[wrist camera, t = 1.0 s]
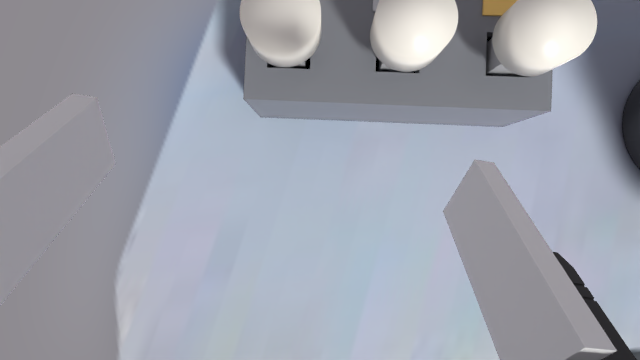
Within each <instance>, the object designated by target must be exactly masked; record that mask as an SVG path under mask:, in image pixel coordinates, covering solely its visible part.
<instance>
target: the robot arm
mask: <svg viewBox="0 0 640 360" xmlns="http://www.w3.org/2000/svg"><path fill="white" fill-rule="evenodd" d="M623 134H624V139H625V143H626V146H627V149H628V151H629V153H630V155H631V157H632V159H633V161H634V162H635V163H636V165H637V166H638V167H639V168H640V81H639V82H638V84H637V85H636V86H635V87H634V89H633V90H632V92H631V94H630V96H629V98H628V100H627V103H626V106H625V110H624V115H623ZM115 165H116V162H115V158H114V155H113V151H112V148H111V144H110V141H109V137H108V134H107V130H106V127H105V123H104V119H103V116H102V113H101V109H100V105H99V102H98V98H96V97H91V96H85V95H78V94H71V95H70V96H68V97H67V98H65V99H64V100H63V101H61V102H60V103H59V104H58V105H56V106H55V107H53V108H52V109H51V110H49V111H48V112H47V113H45V114H44V115H43V116H41V117H40V118H38V119H37V120H36V121H34V122H33V123H32V124H30V125H29V126H27V127H26V128H25V129H23V130H22V131H21V132H20V133H18V134H17V135H15V136H14V137H13V138H11V139H10V140H9V141H7V142H6V143H4V144H3V145H2V146H0V306H1V304H2V303H3V302H4V301H5V299H6V298H7V297H8V296H9V294H10V293H11V292H12V291H13V289H14V288H15V287H16V286H17V285H18V283H19V282H20V281H21V280H22V279H23V277H24V276H25V275H26V274H27V272H28V271H29V270H30V269H31V268H32V266H33V265H34V264H35V263H36V261H37V260H38V259H39V258H40V257H41V255H42V254H43V253H44V252H45V250H46V249H47V248H48V247H49V246H50V244H51V243H52V242H53V241H54V239H55V238H56V237H57V235H59V233H60V232H61V231H62V230H63V228H64V227H65V226H66V225H67V223H68V222H69V221H70V220H71V218H72V217H73V216H74V215H75V213H76V212H77V211H78V210H79V209H80V208H81V206H82V205H83V204H84V203H85V201H86V200H87V199H88V198H89V197H90V195H91V194H92V193H93V192H94V190H95V189H96V188H97V187H98V185H99V184H100V183H101V182H102V181H103V179H104V178H105V177H106V176H107V174H108V173H109V172H110V171H111V170H112V168H113V167H114V166H115ZM443 212H444V215H445V218H446V220H447V223H448V225H449V228H450V231H451V233H452V236H453V239H454V241H455V244H456V246H457V249H458V252H459V254H460V257H461V259H462V262H463V265H464V267H465V270H466V272H467V275H468V278H469V280H470V283H471V286H472V288H473V291H474V293H475V296H476V299H477V301H478V304H479V306H480V309H481V312H482V314H483V317H484V319H485V322H486V325H487V327H488V330H489V333H490V335H491V338H492V340H493V343H494V346H495V348H496V351H497V353H498V356H499V359H500V360H637V359H636V358H635V357H634V355H633V354H632V353H631V351H630V350H629V348H628V347H627V345H626V344H625V342H624V341H623V340H622V338H621V337H620V335H619V334H618V332H617V331H616V329H615V328H614V326H613V325H612V323H611V322H610V321H609V319H608V318H607V316H606V315H605V313H604V312H603V310H602V309H601V307H600V306H599V304H598V303H597V302H596V301H594V300H593V299H594V297H593V296H592V294H591V293H590V291H589V290H588V288H587V287H584V285H585V284H584V283H583V281H582V280H581V278H580V277H579V275H578V274H577V272H576V271H575V269H574V268H573V267H572V266H571V265H570V264H569V263H568V262H567V261H566V260H565V259H564V258H563V257H562V256H561V255H560V254H558V253H556V252H552V251H551V249H550V248H549V246H548V244H547V243H546V241H545V240H544V238H543V237H542V235H541V234H540V232H539V231H538V229H537V228H536V226H535V225H534V223H533V222H532V220H531V218H530V217H529V215H528V214H527V212H526V211H525V209H524V208H523V206H522V205H521V203H520V202H519V200H518V199H517V197H516V196H515V194H514V193H513V191H512V189H511V188H510V186H509V185H508V183H507V182H506V180H505V179H504V177H503V176H502V174H501V173H500V171H499V170H498V168H497V167H496V165H495V163H492V162H486V161H480V160H474V162H473V163H472V165H471V166H470V168H469V170H468V171H467V173H466V175H465V176H464V178H463V180H462V181H461V183H460V184H459V186H458V188H457V189H456V191H455V193H454V194H453V196H452V198H451V199H450V201H449V202H448V204H447V206H446V207H445V209H444V211H443Z"/></svg>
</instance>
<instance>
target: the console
mask: <svg viewBox="0 0 640 360" xmlns="http://www.w3.org/2000/svg"><path fill="white" fill-rule="evenodd" d="M319 1H320V5H321V39H320V43H319V45H318V47H317V49H316V51H315V52H314V54H313V55H312V56H311V58H310V69H293V68H271V67H272V65H271V64H269V63H267V62H265V61H264V60H263V59H261V58H260V57H259V56H258V55H257V53H256V52H255V50H254V49H253V47H252V45H251V43H250V41H249V39H248V37H247V36H246V55H245V76H244V98H243V99H244V100H245V101H246V102H247V103H248V104H249V105H250V107H251V108H252V109H253V110H254V111H255V112H256V113H257V114H258V115H259V116H260V117H269V118H294V119H319V120H344V121H368V122H393V123H418V124H443V125H468V126H493V127H504V126H507V125H510V124H513V123H516V122H519V121H522V120H525V119H528V118H532V117H535V116H538V115H541V114H544V113H547V112H550V111H551V98H552V70H550V71H548V72H546V73H544V74H541V75H538V76H529V77H528V76H521V75H518V76H516V77H506V76H486V50H487V37H493V31H494V28H495V25H496V23H497V21H498V20H499V18H500V17H501V16H502V15H503V14H504V13H505V12H506V11H507V10H508V9H509V8H510V7H511V6H512V5H513V4H514V3H515V2H516V1H517V0H455V2H456V5H457V9H458V24H457V28H456V31H455V34H454V36H453V37H452V39H451V40H450V42H449V43H448V44H447V45H446V46H445V48H444V49H443V50H442V51H441V52H440V53H439V54H438V56H437V57H436V58H435V59H434V60H433V61H432V62H431V63H430V64H429V65H427V66H426V67H424V68H422V69H420V70H417V72H416V73H400V72H375V71H376V55H375V53H374V51H373V49H372V46H371V41H370V30H371V26H372V22H373V19H374V15H375V12H376V8H377V5H378V2H379V0H319Z"/></svg>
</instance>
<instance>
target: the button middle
mask: <svg viewBox="0 0 640 360" xmlns="http://www.w3.org/2000/svg"><path fill="white" fill-rule="evenodd" d="M457 24H458V9H457V5H456V2H455V0H379V2H378V5H377V8H376V12H375V15H374V19H373V22H372V26H371V30H370V41H371V46H372V49H373V51H374V53H375V55H376V56H377V58H378V72H400V73H410V72H412V71H416V70H420V69H422V68H424V67H426V66H427V65H429V64H430V63H431V62H432V61H433V60H434V59H435V58H436V57H437V56H438V54H439V53H440V52H441V51H442V50H443V49H444V48H445V46H446V45H447V44H448V43H449V42H450V40H451V39H452V37H453V36H454V34H455V31H456V28H457Z"/></svg>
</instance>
